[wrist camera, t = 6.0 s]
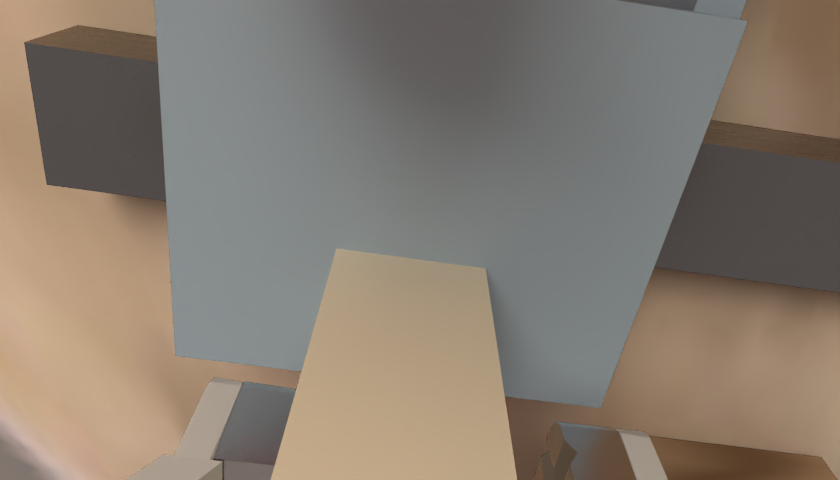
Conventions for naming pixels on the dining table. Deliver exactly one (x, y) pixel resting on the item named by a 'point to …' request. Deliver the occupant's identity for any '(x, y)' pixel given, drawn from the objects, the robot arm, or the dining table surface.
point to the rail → (682, 249)
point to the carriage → (426, 206)
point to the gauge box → (735, 462)
